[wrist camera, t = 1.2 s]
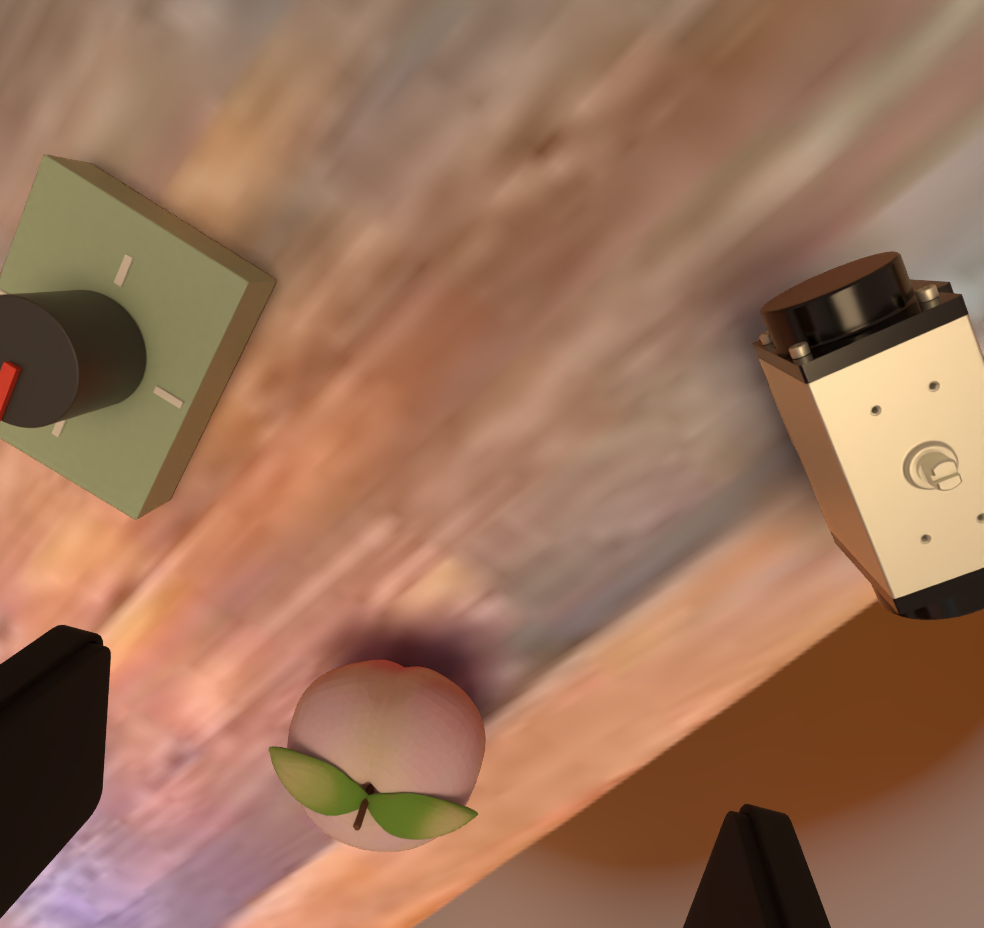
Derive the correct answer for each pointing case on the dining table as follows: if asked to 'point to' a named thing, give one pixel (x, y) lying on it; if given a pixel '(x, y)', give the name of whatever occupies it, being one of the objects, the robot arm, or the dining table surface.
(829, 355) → the pneumatic valve
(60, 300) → the dial knob
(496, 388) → the dining table surface
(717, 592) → the dining table surface
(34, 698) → the robot arm
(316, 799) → the decorative fruit
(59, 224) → the dial panel
